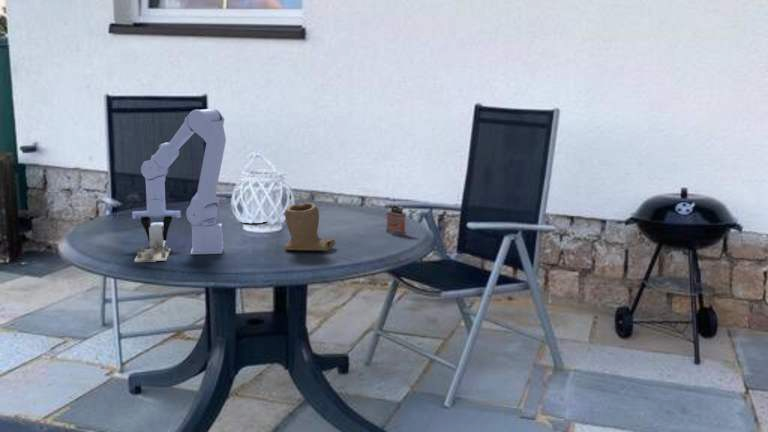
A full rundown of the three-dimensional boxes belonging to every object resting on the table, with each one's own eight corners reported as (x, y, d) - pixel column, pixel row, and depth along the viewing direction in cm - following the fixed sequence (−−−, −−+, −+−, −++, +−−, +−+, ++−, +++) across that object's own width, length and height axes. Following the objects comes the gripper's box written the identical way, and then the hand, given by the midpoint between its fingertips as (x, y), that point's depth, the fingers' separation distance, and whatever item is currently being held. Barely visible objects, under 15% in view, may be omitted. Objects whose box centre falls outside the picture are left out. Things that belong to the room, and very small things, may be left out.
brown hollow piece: (279, 254, 244) (278, 206, 242) (289, 245, 256) (289, 199, 253) (327, 256, 242) (327, 208, 239) (335, 247, 254) (335, 201, 251)
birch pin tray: (170, 250, 247) (170, 243, 247) (165, 261, 234) (165, 254, 233) (140, 251, 246) (140, 244, 245) (134, 262, 232) (133, 255, 232)
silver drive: (165, 243, 256) (165, 222, 255) (163, 249, 249) (162, 227, 247) (152, 243, 256) (151, 222, 254) (149, 249, 248) (148, 227, 247)
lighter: (407, 234, 274) (408, 206, 272) (401, 235, 272) (401, 207, 270) (390, 230, 280) (390, 203, 278) (384, 232, 277) (384, 204, 275)
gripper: (180, 195, 254) (182, 236, 257) (133, 196, 252) (135, 237, 255) (178, 199, 247) (180, 241, 250) (130, 200, 245) (132, 242, 248)
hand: (157, 240), depth 252 cm, fingers closed on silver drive, 4 cm apart
